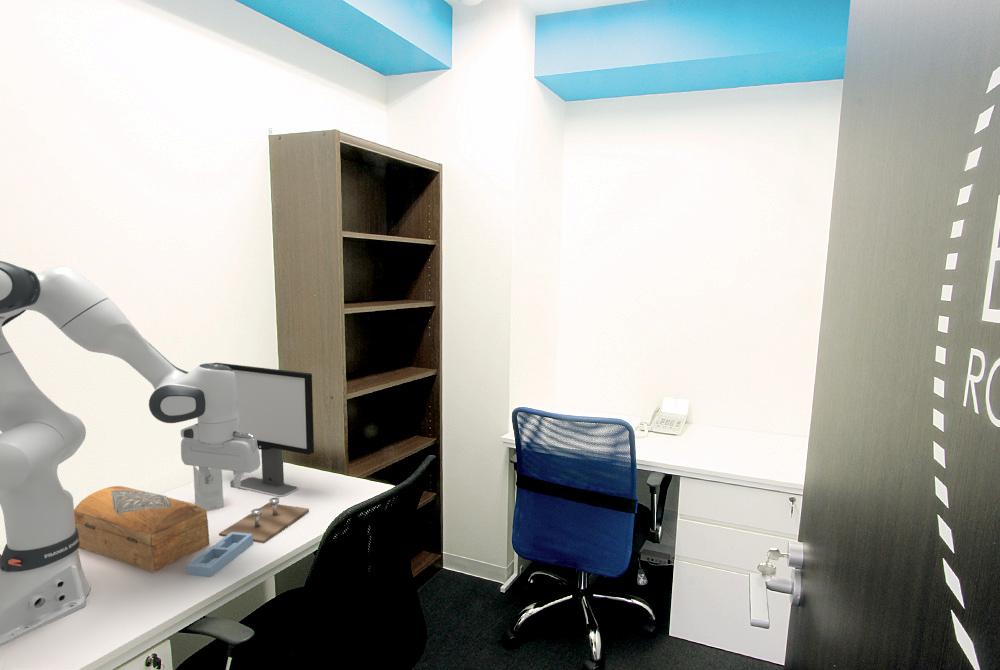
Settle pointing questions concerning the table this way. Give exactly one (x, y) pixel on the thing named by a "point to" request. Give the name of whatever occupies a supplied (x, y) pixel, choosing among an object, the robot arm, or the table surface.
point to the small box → (208, 490)
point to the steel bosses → (259, 511)
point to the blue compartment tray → (220, 554)
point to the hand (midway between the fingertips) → (222, 485)
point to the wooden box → (140, 527)
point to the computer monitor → (274, 421)
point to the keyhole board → (267, 522)
